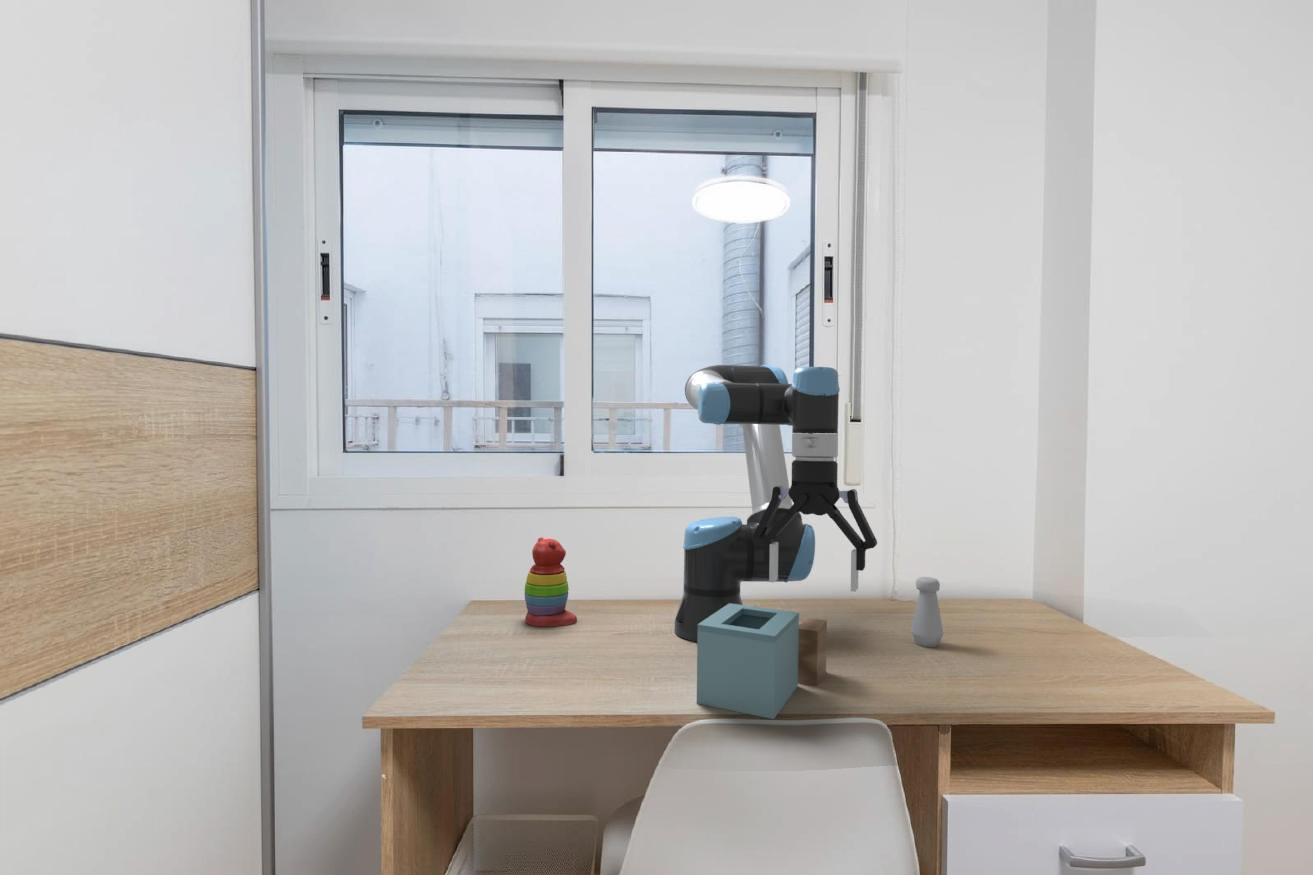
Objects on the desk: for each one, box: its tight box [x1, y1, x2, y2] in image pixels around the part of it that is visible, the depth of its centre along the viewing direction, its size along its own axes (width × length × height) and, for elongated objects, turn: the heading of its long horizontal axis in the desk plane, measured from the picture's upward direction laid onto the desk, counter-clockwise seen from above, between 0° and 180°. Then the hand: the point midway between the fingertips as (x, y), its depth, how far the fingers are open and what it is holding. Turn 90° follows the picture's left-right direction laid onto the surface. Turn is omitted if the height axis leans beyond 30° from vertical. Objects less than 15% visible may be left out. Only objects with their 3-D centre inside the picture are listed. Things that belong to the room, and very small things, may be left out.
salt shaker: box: [910, 576, 944, 648], centre depth 129 cm, size 6×6×13 cm
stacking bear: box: [524, 536, 578, 627], centre depth 142 cm, size 11×10×18 cm
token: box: [798, 617, 828, 687], centre depth 111 cm, size 4×7×9 cm, turn 154°
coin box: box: [696, 603, 800, 720], centre depth 104 cm, size 12×14×12 cm
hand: (812, 585), depth 111 cm, fingers open, 13 cm apart
